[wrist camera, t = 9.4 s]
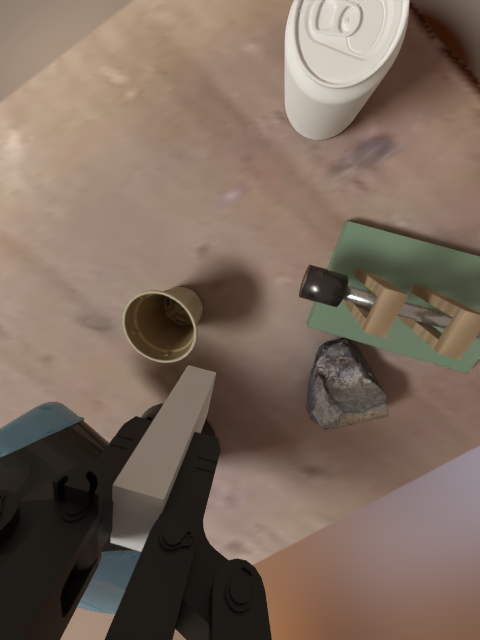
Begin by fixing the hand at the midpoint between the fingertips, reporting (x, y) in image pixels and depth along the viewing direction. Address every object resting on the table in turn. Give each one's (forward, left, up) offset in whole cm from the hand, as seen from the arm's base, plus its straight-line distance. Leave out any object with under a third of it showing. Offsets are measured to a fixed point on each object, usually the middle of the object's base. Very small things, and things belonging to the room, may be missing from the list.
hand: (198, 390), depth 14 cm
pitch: (+20, +4, -25) cm, 32 cm away
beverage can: (+2, +22, -25) cm, 33 cm away
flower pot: (-9, -6, -25) cm, 27 cm away
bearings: (+17, +4, -23) cm, 29 cm away
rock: (+17, -12, -25) cm, 32 cm away
